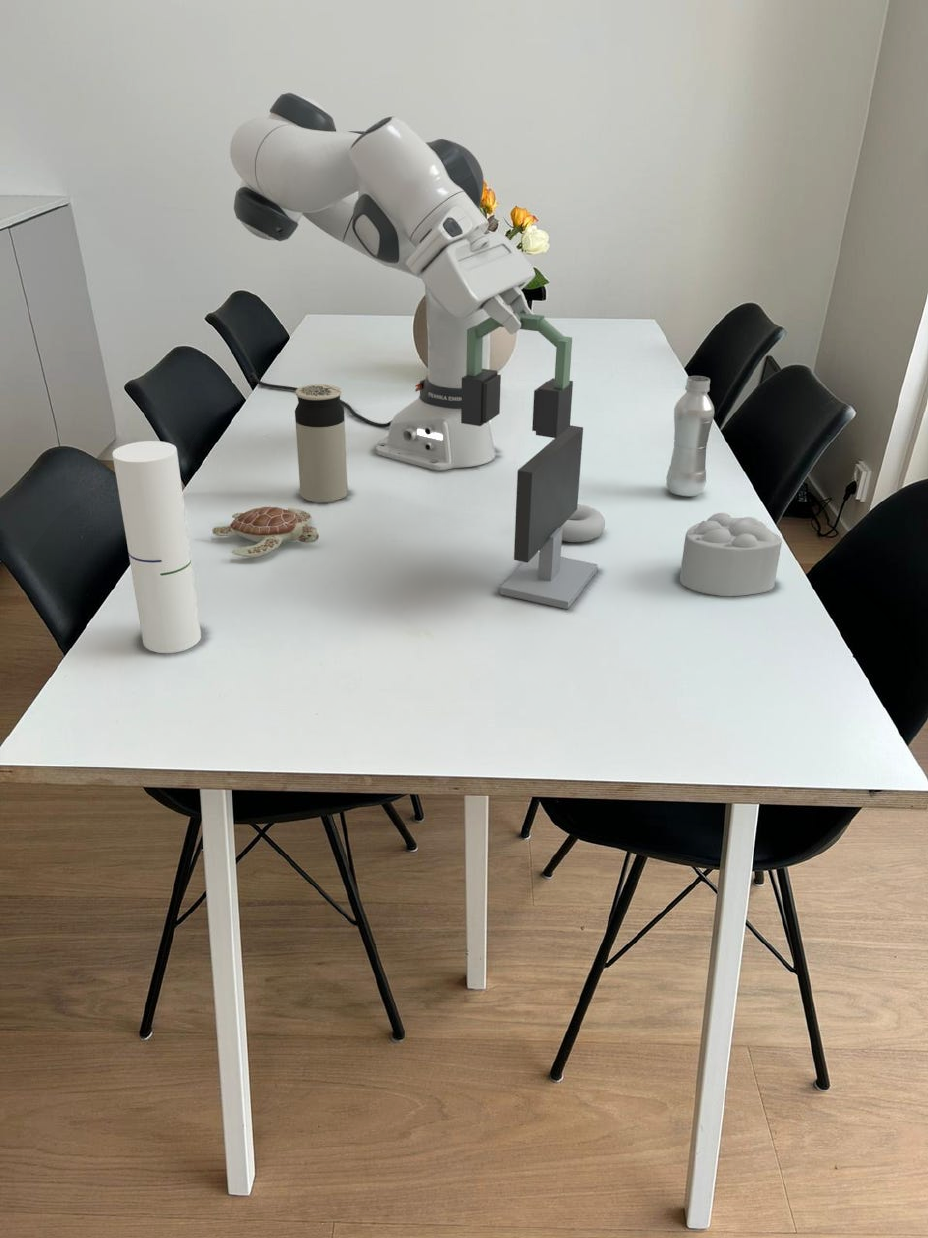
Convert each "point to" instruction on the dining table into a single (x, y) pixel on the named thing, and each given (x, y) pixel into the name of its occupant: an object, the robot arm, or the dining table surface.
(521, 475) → the monitor
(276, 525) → the decorative turtle
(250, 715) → the dining table surface
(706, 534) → the lumpy-topped squat cylinder
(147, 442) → the cylindrical container
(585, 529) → the donut
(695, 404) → the plastic bottle
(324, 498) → the travel mug
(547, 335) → the headphones
